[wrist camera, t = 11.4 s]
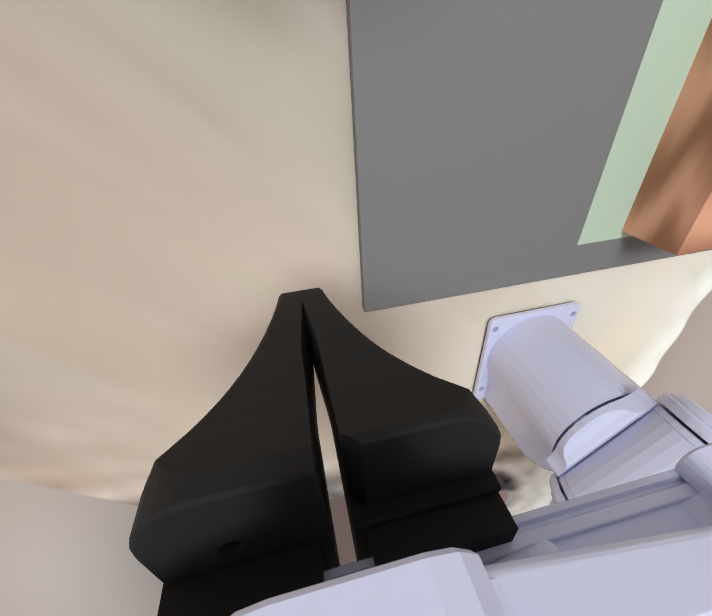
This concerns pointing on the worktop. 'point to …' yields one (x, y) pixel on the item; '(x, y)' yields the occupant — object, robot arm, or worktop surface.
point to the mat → (507, 136)
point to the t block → (681, 170)
